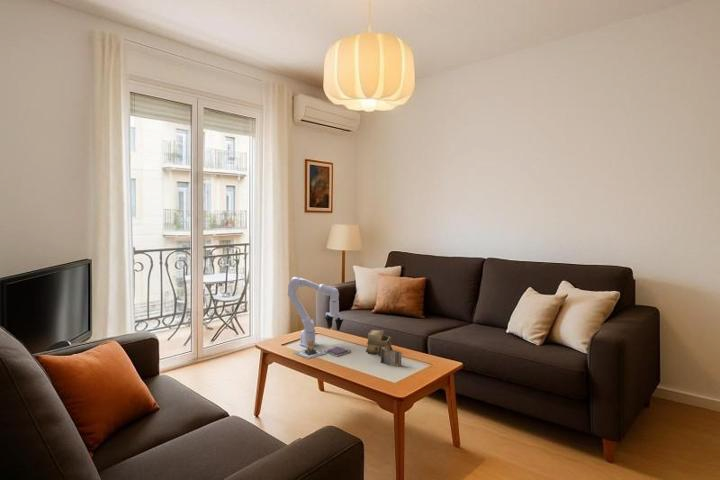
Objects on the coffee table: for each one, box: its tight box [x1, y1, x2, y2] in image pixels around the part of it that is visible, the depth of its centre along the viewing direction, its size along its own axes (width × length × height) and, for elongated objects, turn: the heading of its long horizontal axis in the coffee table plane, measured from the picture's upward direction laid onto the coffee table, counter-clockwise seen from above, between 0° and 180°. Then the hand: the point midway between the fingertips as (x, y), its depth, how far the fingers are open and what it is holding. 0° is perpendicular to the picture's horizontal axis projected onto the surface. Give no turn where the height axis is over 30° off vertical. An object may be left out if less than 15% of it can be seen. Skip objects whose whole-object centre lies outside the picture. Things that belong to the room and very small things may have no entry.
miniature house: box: [365, 329, 394, 357], centre depth 251 cm, size 15×14×11 cm
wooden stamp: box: [304, 340, 317, 355], centre depth 248 cm, size 5×5×8 cm
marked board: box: [293, 348, 327, 360], centre depth 248 cm, size 14×13×1 cm
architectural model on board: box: [380, 347, 402, 367], centre depth 230 cm, size 11×3×10 cm, turn 59°
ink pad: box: [324, 346, 352, 357], centre depth 250 cm, size 11×11×1 cm
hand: (334, 328), depth 265 cm, fingers open, 7 cm apart
